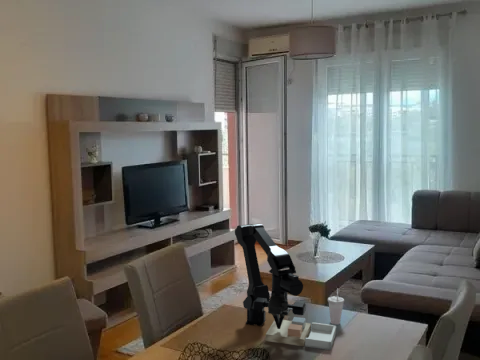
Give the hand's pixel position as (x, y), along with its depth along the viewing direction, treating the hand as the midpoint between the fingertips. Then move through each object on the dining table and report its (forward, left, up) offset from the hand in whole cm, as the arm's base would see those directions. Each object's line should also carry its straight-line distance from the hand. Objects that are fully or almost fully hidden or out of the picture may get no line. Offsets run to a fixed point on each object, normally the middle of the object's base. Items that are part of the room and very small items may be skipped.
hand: (279, 328), depth 182 cm
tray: (+15, +3, -4) cm, 16 cm away
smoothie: (+18, +21, -4) cm, 28 cm away
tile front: (+6, 0, -1) cm, 6 cm away
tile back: (+6, +7, -1) cm, 9 cm away
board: (+3, +3, -4) cm, 6 cm away
